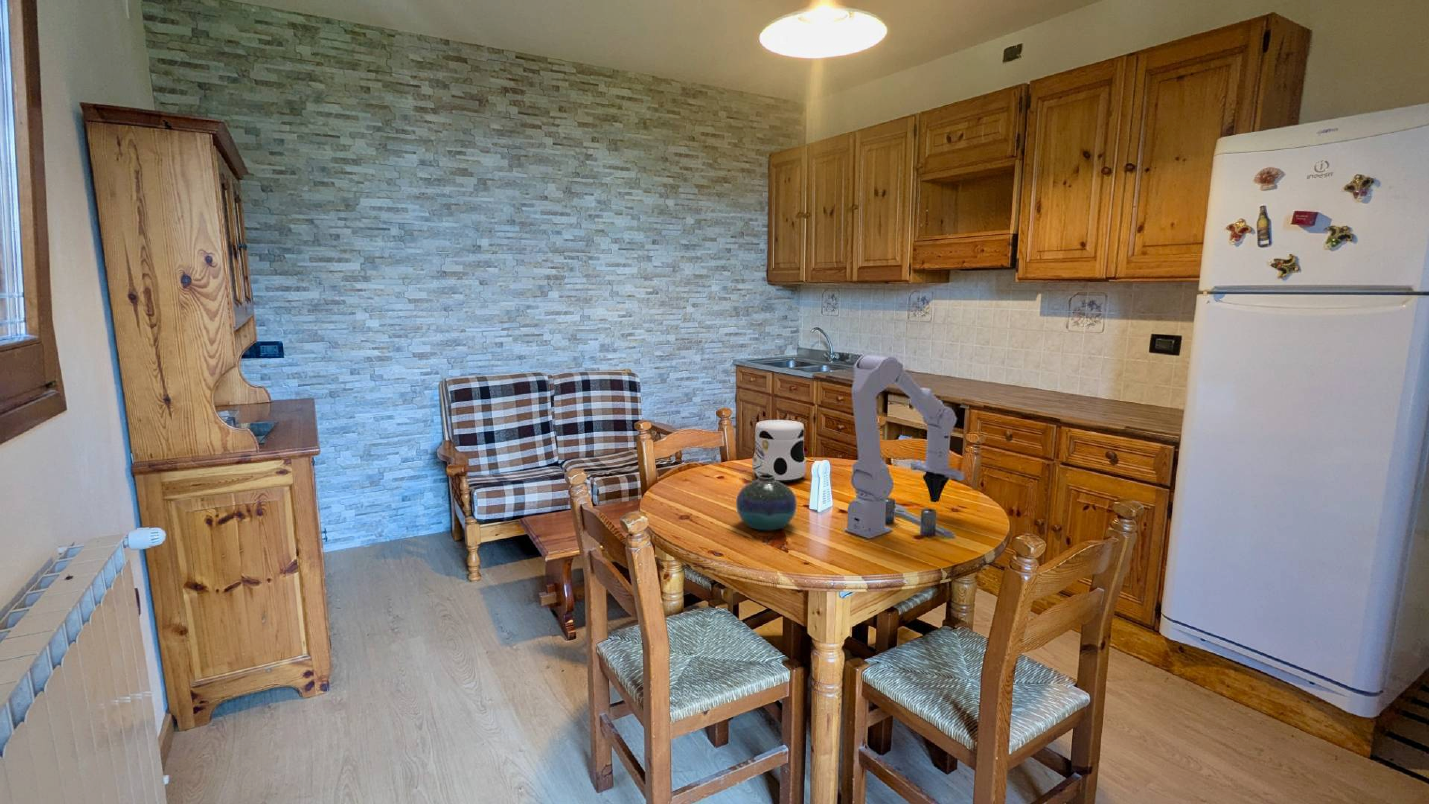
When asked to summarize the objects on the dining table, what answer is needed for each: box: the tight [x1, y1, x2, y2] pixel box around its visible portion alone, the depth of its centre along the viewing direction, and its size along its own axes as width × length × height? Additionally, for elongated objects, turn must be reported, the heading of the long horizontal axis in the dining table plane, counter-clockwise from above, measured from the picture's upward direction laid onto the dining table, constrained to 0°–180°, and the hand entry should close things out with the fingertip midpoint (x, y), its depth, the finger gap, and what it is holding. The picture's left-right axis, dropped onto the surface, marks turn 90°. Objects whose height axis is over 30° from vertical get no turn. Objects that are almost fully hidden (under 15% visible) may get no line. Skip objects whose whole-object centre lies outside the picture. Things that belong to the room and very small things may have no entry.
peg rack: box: [885, 497, 937, 538], centre depth 170 cm, size 4×16×6 cm, turn 40°
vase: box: [735, 474, 798, 532], centre depth 170 cm, size 15×15×13 cm
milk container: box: [751, 419, 807, 483], centre depth 215 cm, size 17×17×18 cm
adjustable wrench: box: [894, 503, 955, 539], centre depth 174 cm, size 25×6×2 cm, turn 19°
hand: (934, 501), depth 177 cm, fingers closed
